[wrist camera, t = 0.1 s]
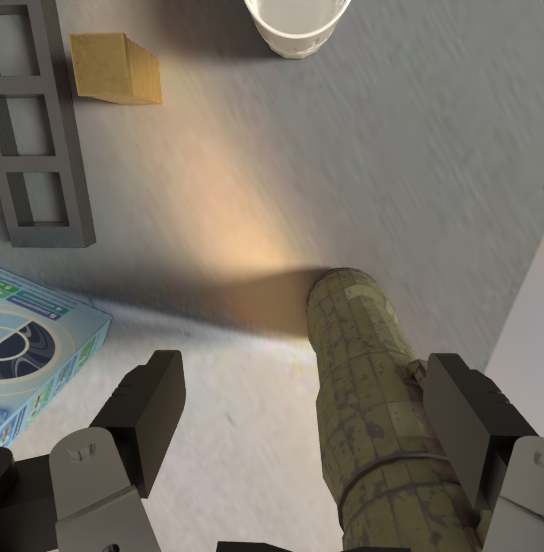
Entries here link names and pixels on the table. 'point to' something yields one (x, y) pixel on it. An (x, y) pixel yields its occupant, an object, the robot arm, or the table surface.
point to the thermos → (381, 427)
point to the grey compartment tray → (68, 161)
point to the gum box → (40, 348)
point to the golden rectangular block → (114, 69)
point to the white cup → (296, 23)
